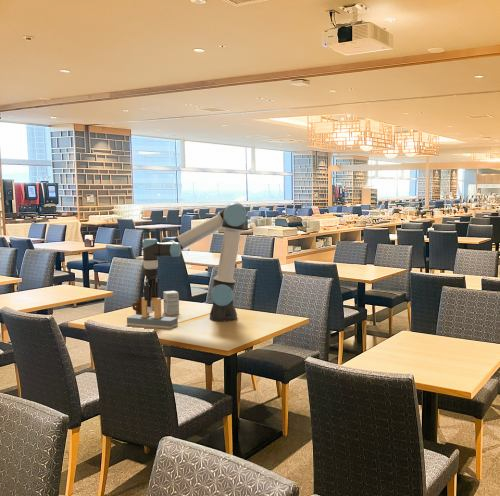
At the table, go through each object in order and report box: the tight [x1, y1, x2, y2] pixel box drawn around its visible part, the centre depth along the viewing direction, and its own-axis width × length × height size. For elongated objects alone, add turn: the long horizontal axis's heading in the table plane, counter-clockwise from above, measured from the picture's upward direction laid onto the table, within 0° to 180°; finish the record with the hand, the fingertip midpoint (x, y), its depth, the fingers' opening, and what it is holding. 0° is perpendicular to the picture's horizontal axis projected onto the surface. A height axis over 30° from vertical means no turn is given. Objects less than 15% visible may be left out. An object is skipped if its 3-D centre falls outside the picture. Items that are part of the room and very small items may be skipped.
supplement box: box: [162, 290, 180, 316], centre depth 330 cm, size 7×7×13 cm
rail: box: [126, 314, 179, 329], centre depth 302 cm, size 26×8×4 cm, turn 70°
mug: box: [131, 298, 142, 315], centre depth 322 cm, size 12×8×9 cm, turn 151°
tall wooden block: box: [141, 296, 162, 319], centre depth 301 cm, size 10×3×10 cm, turn 70°
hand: (151, 311), depth 301 cm, fingers closed on tall wooden block, 3 cm apart
